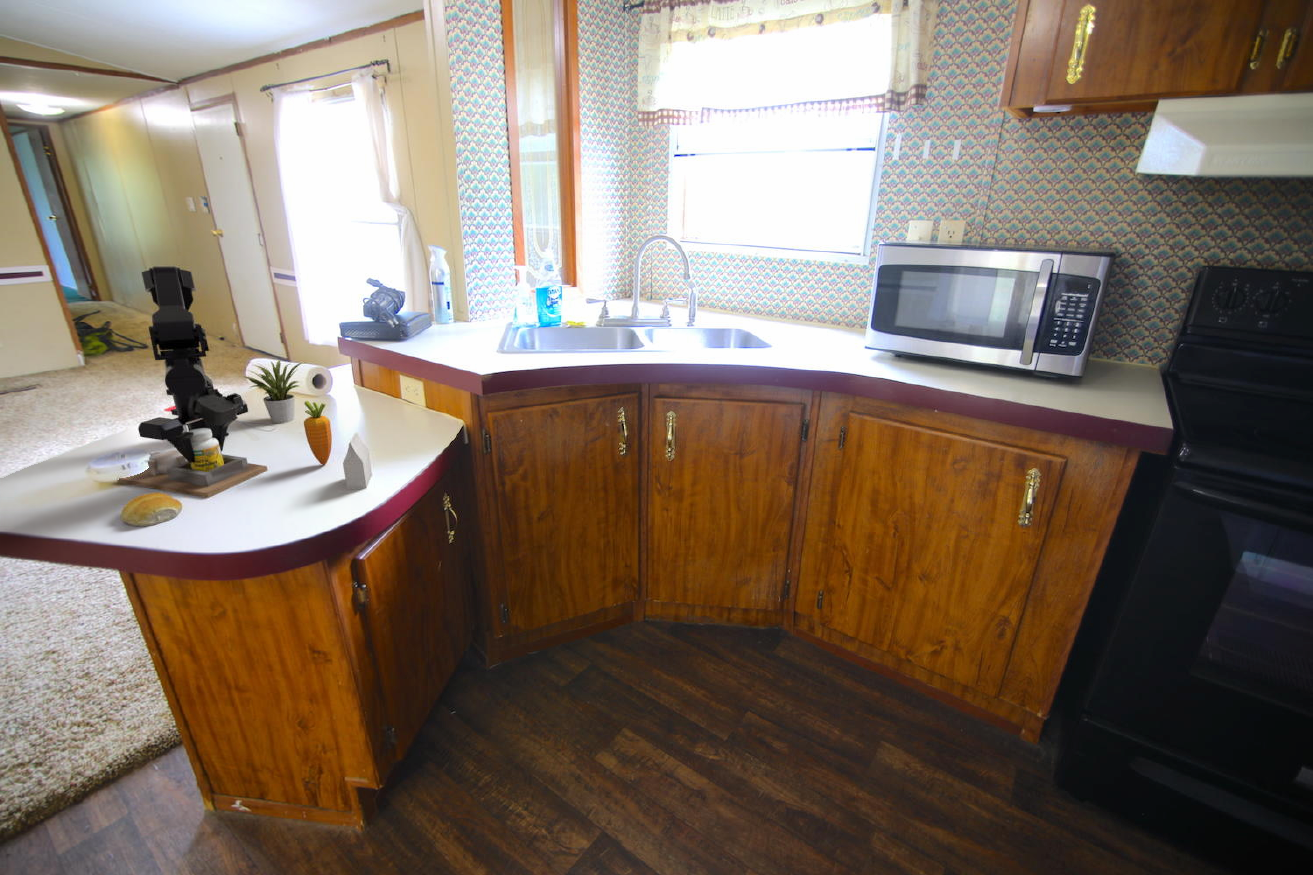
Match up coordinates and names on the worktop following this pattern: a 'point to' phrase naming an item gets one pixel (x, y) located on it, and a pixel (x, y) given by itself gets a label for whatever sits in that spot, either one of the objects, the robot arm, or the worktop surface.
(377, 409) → the worktop surface
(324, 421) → the carrot
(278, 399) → the house plant
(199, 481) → the carrier plate
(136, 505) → the bread roll
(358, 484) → the gray house shaped block
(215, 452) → the supplement bottle
